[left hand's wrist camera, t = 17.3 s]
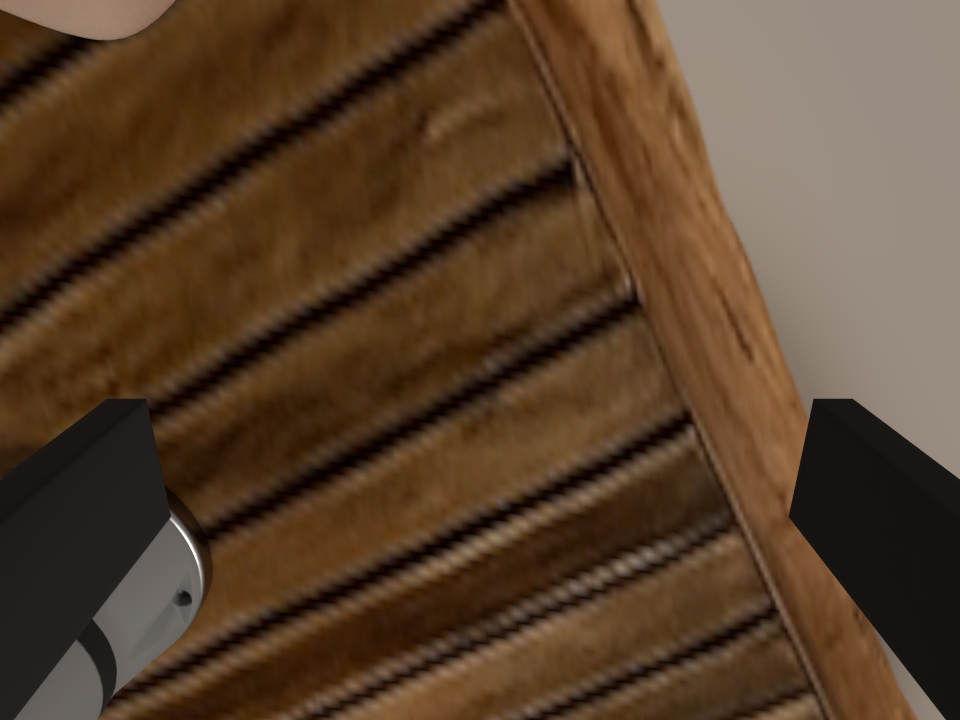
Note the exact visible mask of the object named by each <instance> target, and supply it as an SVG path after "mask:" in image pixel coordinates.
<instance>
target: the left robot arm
mask: <svg viewBox="0 0 960 720" xmlns="http://www.w3.org/2000/svg"><path fill="white" fill-rule="evenodd" d="M789 518H790V519H791V520H792V522H793V523H794V524H795V526H796V527H797V528H798V529H799V531H800V532H801V533H802V535H803V536H804V537H805V539H806V540H807V541H808V542H809V544H810V545H811V546H812V548H813V549H814V550H815V551H816V553H817V554H818V555H819V557H820V558H821V559H822V560H823V562H824V563H825V564H826V566H827V567H828V568H829V569H830V571H831V572H832V573H833V575H834V576H835V577H836V579H837V580H838V581H839V582H840V584H841V585H842V586H843V588H844V589H845V590H846V591H847V593H848V594H849V595H850V597H851V598H852V599H853V600H854V602H855V603H856V604H857V606H858V607H859V608H860V610H861V611H862V612H863V613H864V615H865V616H866V617H867V619H868V620H869V621H870V622H871V624H872V625H873V626H874V628H875V629H876V630H877V631H878V633H879V634H880V635H881V637H882V638H883V639H884V640H885V642H886V643H887V644H888V646H889V647H890V648H891V650H892V651H893V652H894V653H895V655H896V656H897V657H898V659H899V660H900V661H901V662H902V664H903V665H904V666H905V668H906V669H907V670H908V671H909V673H910V674H911V675H912V677H913V678H914V679H915V681H916V682H917V683H918V684H919V686H920V687H921V688H922V690H923V691H924V692H925V693H926V695H927V696H928V697H929V699H930V700H931V701H932V702H933V704H934V705H935V706H936V708H937V709H938V710H939V711H940V713H941V714H942V715H943V717H944V718H945V719H946V720H960V479H958V478H957V477H956V476H954V475H953V474H952V473H951V472H949V471H948V470H947V469H945V468H944V467H943V466H941V465H940V464H939V463H937V462H936V461H935V460H933V459H932V458H931V457H929V456H928V455H927V454H925V453H924V452H923V451H921V450H920V449H919V448H917V447H916V446H915V445H913V444H912V443H911V442H909V441H908V440H907V439H905V438H904V437H903V436H901V435H900V434H899V433H897V432H896V431H895V430H893V429H892V428H891V427H889V426H888V425H887V424H885V423H884V422H883V421H881V420H880V419H879V418H877V417H876V416H875V415H873V414H872V413H871V412H869V411H868V410H867V409H866V408H864V407H863V406H862V405H860V404H859V403H857V402H856V401H855V400H854V399H814V400H813V404H812V409H811V414H810V419H809V423H808V428H807V433H806V438H805V442H804V447H803V452H802V457H801V461H800V466H799V471H798V476H797V480H796V485H795V490H794V495H793V499H792V504H791V509H790V514H789ZM211 580H212V558H211V553H210V548H209V545H208V542H207V539H206V537H205V535H204V533H203V530H202V528H201V527H200V525H199V523H198V522H197V520H196V519H195V517H194V516H193V515H192V513H191V512H190V510H189V509H188V508H187V507H186V506H185V505H184V504H183V503H182V501H180V500H179V499H178V498H177V497H176V496H175V495H174V494H173V493H172V492H171V491H169V490H168V489H167V488H166V487H165V485H164V480H163V476H162V471H161V466H160V461H159V457H158V452H157V447H156V442H155V438H154V433H153V428H152V423H151V419H150V414H149V409H148V404H147V400H146V399H106V400H105V401H104V402H102V403H101V404H100V405H98V406H97V407H96V408H94V409H93V410H92V411H91V412H89V413H88V414H87V415H85V416H84V417H83V418H81V419H80V420H79V421H77V422H76V423H75V424H73V425H72V426H71V427H69V428H68V429H67V430H65V431H64V432H63V433H61V434H60V435H59V436H57V437H56V438H55V439H53V440H52V441H51V442H49V443H48V444H47V445H45V446H44V447H43V448H41V449H40V450H39V451H37V452H36V453H35V454H33V455H32V456H31V457H29V458H28V459H27V460H25V461H24V462H23V463H21V464H20V465H19V466H16V467H15V468H13V469H11V470H10V471H8V472H7V473H5V474H4V475H3V476H1V477H0V720H98V718H99V717H100V715H101V713H102V712H103V710H104V709H105V707H106V706H107V704H108V702H109V701H110V699H111V698H112V696H113V695H114V694H115V693H116V692H117V691H118V690H119V689H121V688H122V687H123V686H124V685H125V684H126V683H128V682H129V681H130V680H131V679H132V678H133V677H135V676H136V675H137V674H138V673H139V672H141V671H142V670H143V669H144V668H145V667H146V666H148V665H149V664H150V663H151V662H152V661H153V660H155V659H156V658H157V657H158V656H159V655H160V654H162V653H163V652H164V651H165V650H166V649H168V648H169V647H170V646H171V645H172V644H173V643H174V642H176V641H177V640H178V639H179V638H180V637H181V636H182V635H183V634H184V633H185V632H186V631H187V629H188V628H189V627H190V626H191V624H192V622H193V620H194V619H195V617H196V615H197V613H198V612H199V610H200V608H201V606H202V605H203V603H204V601H205V599H206V597H207V595H208V592H209V589H210V585H211Z"/></svg>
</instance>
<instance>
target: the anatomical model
mask: <svg viewBox="0 0 960 720" xmlns="http://www.w3.org/2000/svg"><path fill="white" fill-rule="evenodd" d="M174 1H175V0H0V9H1V10H3V11H6V12H8V13H11V14H13V15H16V16H18V17H21V18H23V19H26V20H28V21H31V22H34V23H37V24H39V25H42V26H45V27H48V28H51V29H54V30H57V31H60V32H64V33H67V34H71V35H75V36H80V37H84V38H90V39H96V40H116V39H121V38H125V37H128V36H131V35H133V34H136V33H138V32H139V31H141V30H143V29H144V28H146V27H147V26H149V25H150V24H151V23H153V22H154V21H155V20H156V19H158V18H159V17H160V16H161V15H162V14H163V13H164V12H165V11H166V10H167V9H168V8H169V7H170V6H171V5H172V4H173V3H174Z"/></svg>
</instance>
